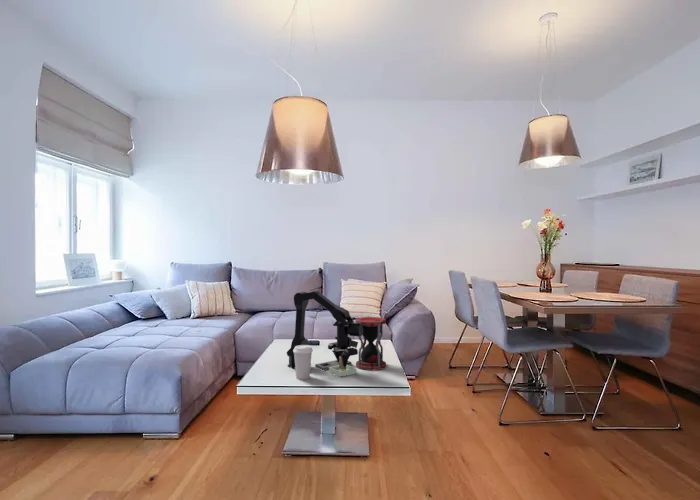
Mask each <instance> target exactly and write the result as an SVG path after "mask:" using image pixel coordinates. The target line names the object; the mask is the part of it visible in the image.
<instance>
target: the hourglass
mask: <svg viewBox="0 0 700 500" xmlns="http://www.w3.org/2000/svg"><path fill="white" fill-rule="evenodd" d="M355 323H361V325H362V327H363V335H362V336H361V337H358V340H359V341H360V347H359V348H358V349H359V350H358V360H357V361H356V362H355V368H358V369H359V370H365V371H378V370H383V369H385V368H386V367H387V362H386V361H385V360H384V358H383V357H384V354H383V353H384V347H383V345H382V344H381V340H382V337H383V334H384V333H383V332H384V331H383V330H384V327H383V326H384V324H386V323H387V319H386V318H383V317H380V316H379V317H378V316H366V317H365V316H364V317H358V318H356V319H355ZM362 337H363V339H362ZM374 342H375V343H374ZM379 347H380V348H379Z"/></svg>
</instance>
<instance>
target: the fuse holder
mask: <svg viewBox="0 0 700 500" xmlns="http://www.w3.org/2000/svg"><path fill="white" fill-rule="evenodd" d="M337 365H339V363H338V361H337V359H336V360H331V361H325V362H320V363H316V364H314V367H315V368H317V369H319V370H321V371H329V367H332V366H337ZM347 365H349V366H352V365H353V364H352V361H350V360H348V362H347Z"/></svg>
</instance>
